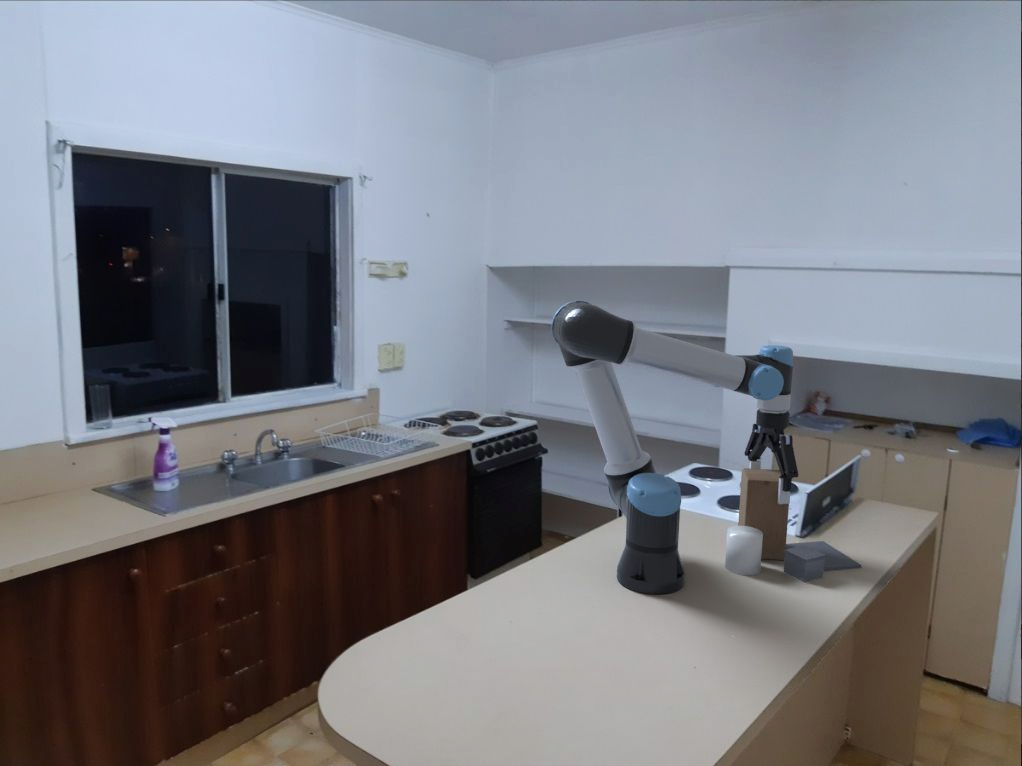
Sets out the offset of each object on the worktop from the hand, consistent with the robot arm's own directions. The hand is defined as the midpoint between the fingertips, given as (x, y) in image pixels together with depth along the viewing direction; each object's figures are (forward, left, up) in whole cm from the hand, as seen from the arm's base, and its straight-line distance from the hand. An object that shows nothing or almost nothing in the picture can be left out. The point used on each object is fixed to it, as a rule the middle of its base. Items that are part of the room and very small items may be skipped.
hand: (768, 494), depth 181 cm
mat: (+12, -5, -15) cm, 20 cm away
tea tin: (+2, -14, -15) cm, 21 cm away
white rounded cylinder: (-10, -8, -15) cm, 20 cm away
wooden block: (-1, 0, -15) cm, 15 cm away
